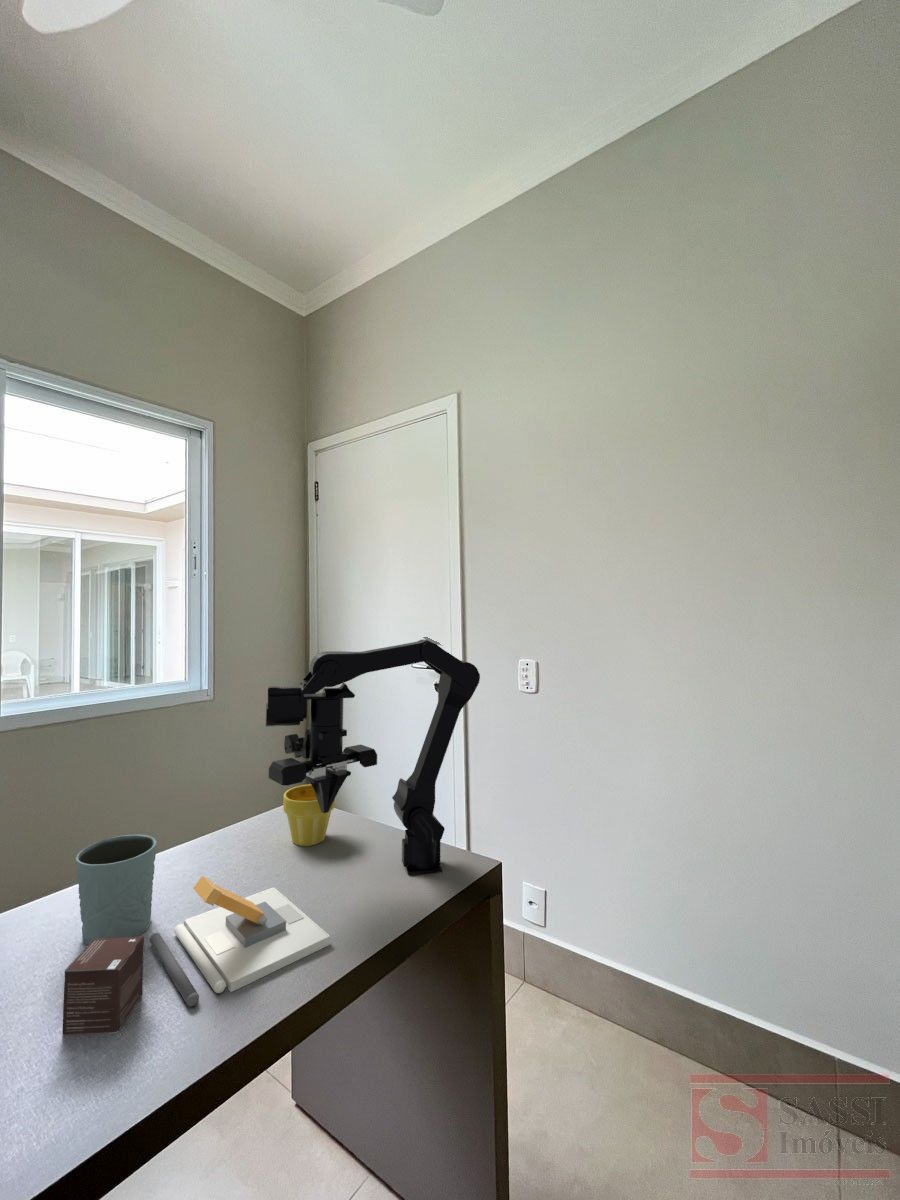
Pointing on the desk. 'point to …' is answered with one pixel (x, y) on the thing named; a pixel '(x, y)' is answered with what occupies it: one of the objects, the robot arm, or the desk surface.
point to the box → (103, 986)
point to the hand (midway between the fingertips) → (324, 812)
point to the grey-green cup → (116, 886)
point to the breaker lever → (228, 900)
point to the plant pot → (305, 815)
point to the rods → (178, 973)
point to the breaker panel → (256, 938)
